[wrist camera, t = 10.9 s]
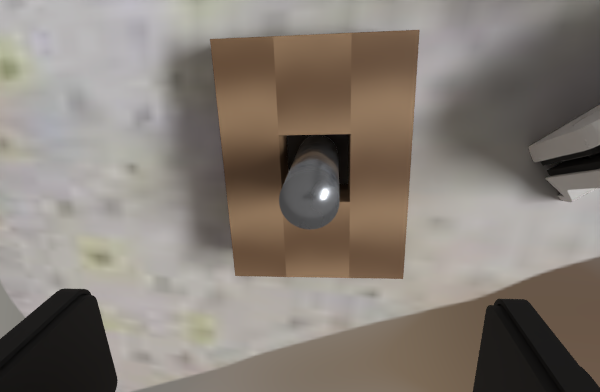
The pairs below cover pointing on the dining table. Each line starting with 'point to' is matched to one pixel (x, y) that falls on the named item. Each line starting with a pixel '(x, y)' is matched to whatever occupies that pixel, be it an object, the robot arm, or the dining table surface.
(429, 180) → the dining table surface
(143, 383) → the dining table surface
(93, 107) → the dining table surface
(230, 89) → the block with square hole
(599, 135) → the grey half-round piece
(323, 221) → the pin
